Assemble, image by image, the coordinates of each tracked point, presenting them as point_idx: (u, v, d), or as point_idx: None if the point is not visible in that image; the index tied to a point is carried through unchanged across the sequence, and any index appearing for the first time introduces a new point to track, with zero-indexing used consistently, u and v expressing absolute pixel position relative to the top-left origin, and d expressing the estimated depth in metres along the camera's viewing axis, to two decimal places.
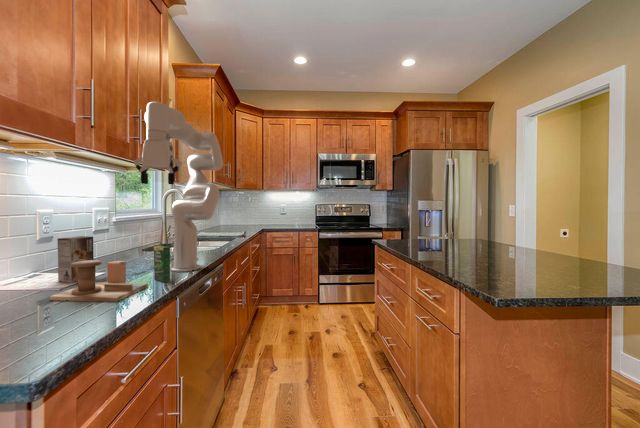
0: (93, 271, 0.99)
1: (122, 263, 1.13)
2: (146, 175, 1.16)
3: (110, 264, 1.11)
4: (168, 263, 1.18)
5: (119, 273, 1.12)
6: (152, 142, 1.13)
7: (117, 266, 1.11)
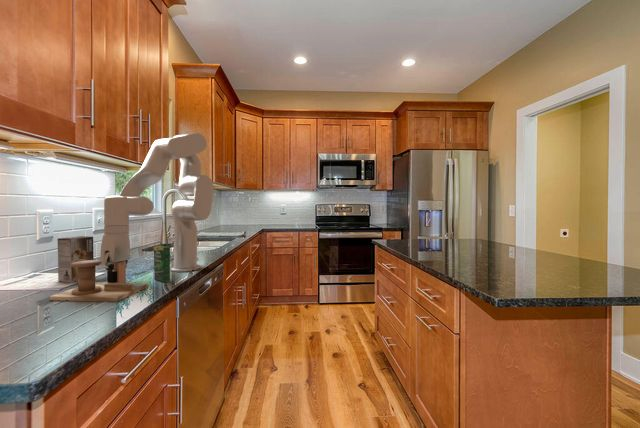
0: (93, 271, 0.99)
1: (122, 263, 1.13)
2: None
3: (110, 264, 1.11)
4: (168, 263, 1.18)
5: (119, 273, 1.12)
6: (122, 237, 1.12)
7: (117, 266, 1.11)
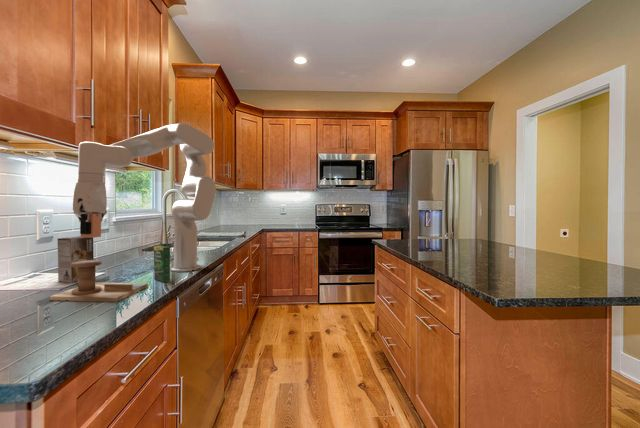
0: (93, 271, 0.99)
1: (97, 214, 1.06)
2: None
3: None
4: (168, 263, 1.18)
5: (93, 224, 1.05)
6: (97, 187, 1.05)
7: (92, 216, 1.04)
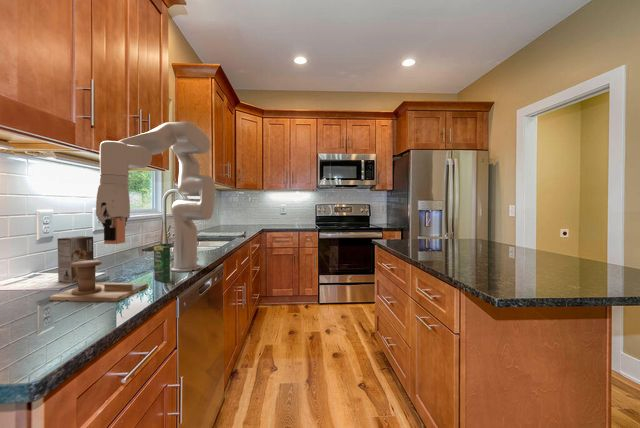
0: (93, 271, 0.99)
1: (121, 219, 0.99)
2: None
3: None
4: (168, 263, 1.18)
5: (117, 229, 0.97)
6: (121, 189, 0.98)
7: (116, 221, 0.97)
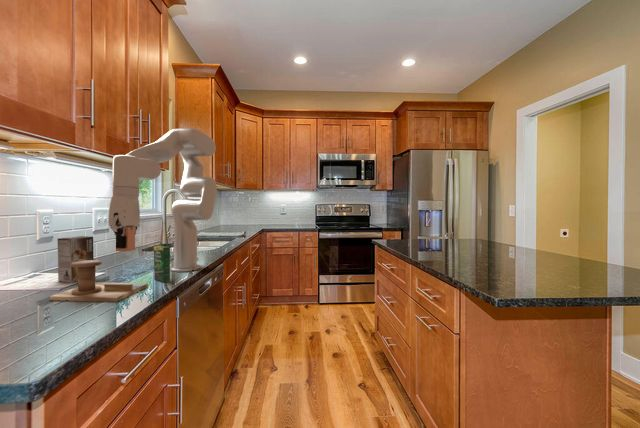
0: (93, 271, 0.99)
1: (131, 228, 1.05)
2: None
3: None
4: (168, 263, 1.18)
5: (128, 238, 1.04)
6: (132, 200, 1.04)
7: (127, 230, 1.03)
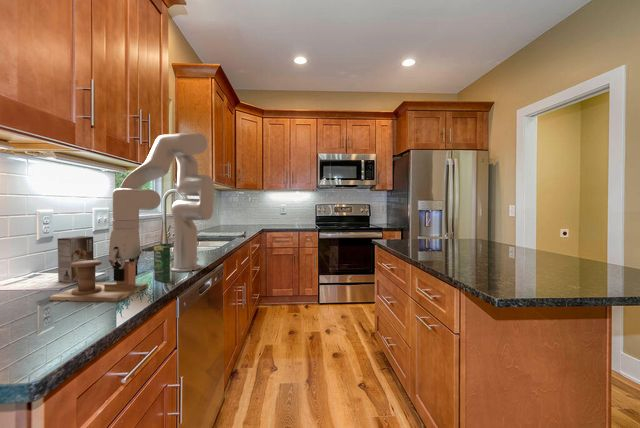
0: (93, 271, 0.99)
1: (132, 264, 1.06)
2: None
3: None
4: (168, 263, 1.18)
5: (129, 274, 1.04)
6: (132, 233, 1.05)
7: (127, 266, 1.04)
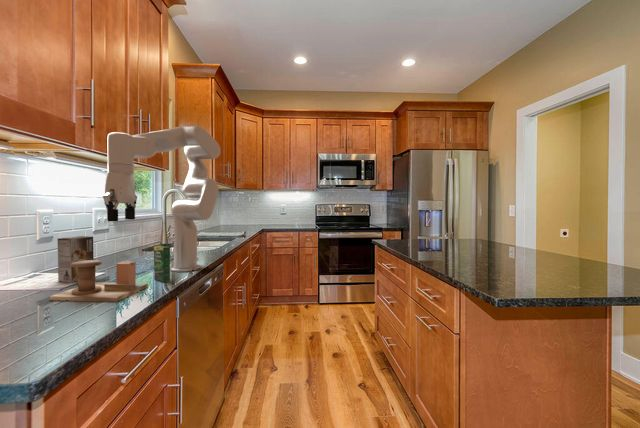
0: (93, 271, 0.99)
1: (132, 264, 1.06)
2: None
3: (119, 265, 1.04)
4: (168, 263, 1.18)
5: (129, 274, 1.04)
6: (127, 177, 1.06)
7: (127, 266, 1.04)
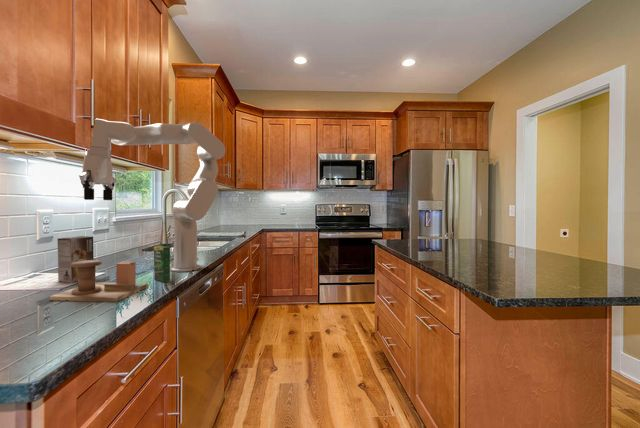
0: (93, 271, 0.99)
1: (132, 264, 1.06)
2: None
3: (119, 265, 1.04)
4: (168, 263, 1.18)
5: (129, 274, 1.04)
6: (104, 160, 1.15)
7: (127, 266, 1.04)
